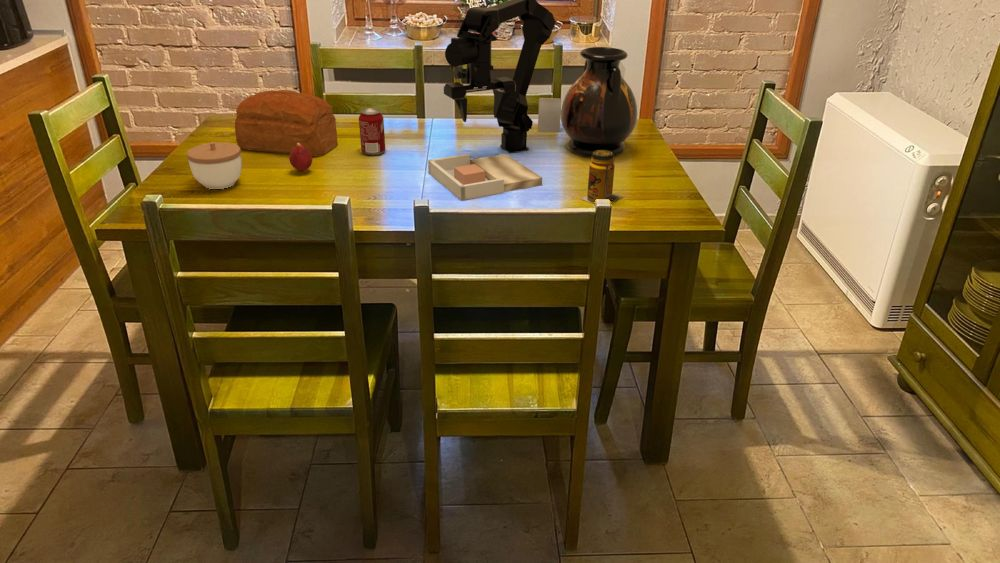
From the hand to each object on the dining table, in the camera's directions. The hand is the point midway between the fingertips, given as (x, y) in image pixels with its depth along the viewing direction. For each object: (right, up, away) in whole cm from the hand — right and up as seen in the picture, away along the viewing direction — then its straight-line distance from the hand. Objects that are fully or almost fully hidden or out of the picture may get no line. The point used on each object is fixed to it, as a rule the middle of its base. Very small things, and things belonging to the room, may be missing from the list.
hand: (480, 119), depth 197 cm
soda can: (-31, -7, +12) cm, 34 cm away
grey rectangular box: (+21, +4, +32) cm, 38 cm away
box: (-4, -18, -7) cm, 20 cm away
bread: (-56, -5, +15) cm, 58 cm away
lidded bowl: (-66, -19, -11) cm, 69 cm away
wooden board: (+7, -15, -3) cm, 17 cm away
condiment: (+31, -23, -15) cm, 41 cm away
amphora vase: (+33, -5, +16) cm, 37 cm away
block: (-3, -17, -7) cm, 19 cm away
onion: (-47, -15, -3) cm, 49 cm away
